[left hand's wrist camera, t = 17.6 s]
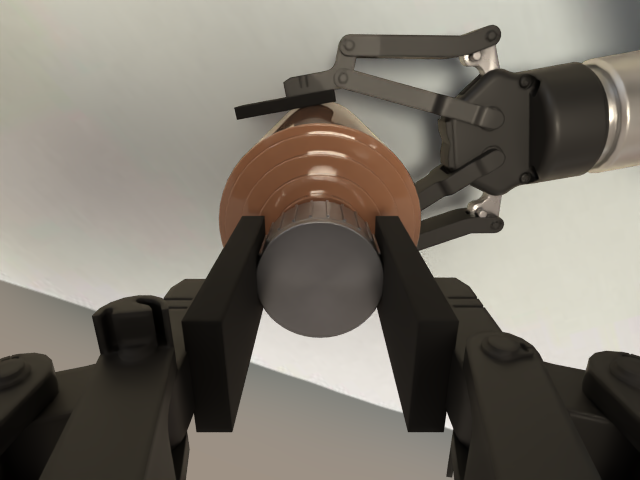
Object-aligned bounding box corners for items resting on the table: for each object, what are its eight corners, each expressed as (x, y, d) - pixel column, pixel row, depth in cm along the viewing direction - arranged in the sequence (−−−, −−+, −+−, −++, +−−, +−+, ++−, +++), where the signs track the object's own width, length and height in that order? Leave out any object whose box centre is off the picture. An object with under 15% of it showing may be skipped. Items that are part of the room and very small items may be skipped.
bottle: (346, 211, 37) (387, 412, 14) (259, 178, 36) (157, 341, 13) (383, 122, 34) (506, 201, 12) (290, 84, 33) (229, 91, 11)
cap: (399, 234, 14) (412, 259, 12) (340, 321, 15) (343, 358, 13) (296, 177, 13) (292, 195, 11) (243, 273, 14) (231, 305, 12)
